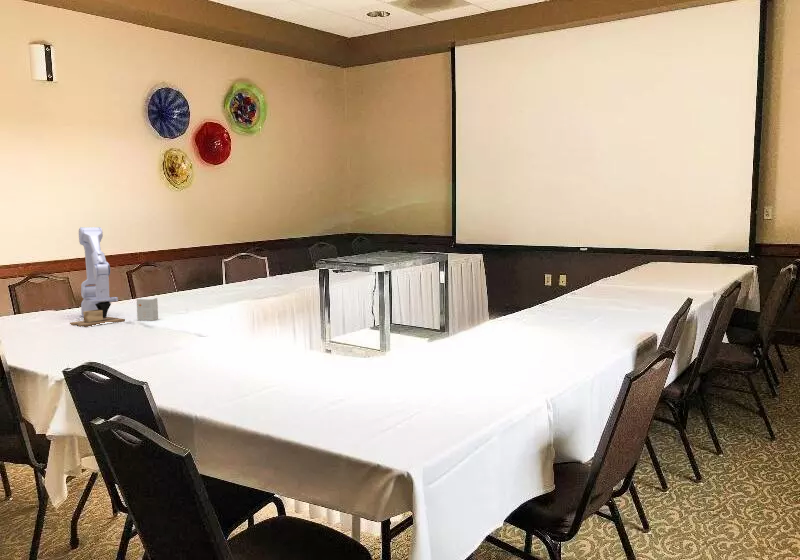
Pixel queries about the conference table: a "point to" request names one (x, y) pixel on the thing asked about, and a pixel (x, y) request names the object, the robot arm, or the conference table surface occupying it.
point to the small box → (147, 309)
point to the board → (107, 319)
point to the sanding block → (93, 316)
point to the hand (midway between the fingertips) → (103, 318)
